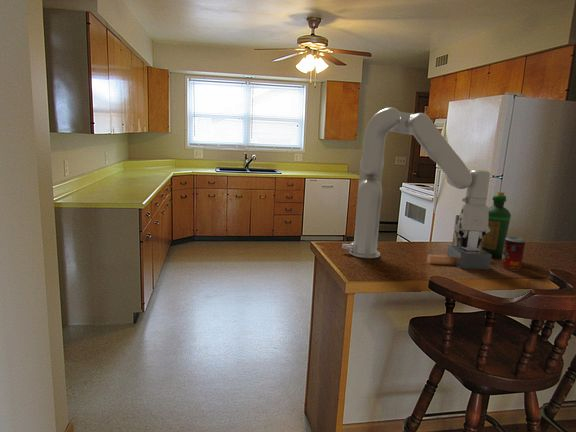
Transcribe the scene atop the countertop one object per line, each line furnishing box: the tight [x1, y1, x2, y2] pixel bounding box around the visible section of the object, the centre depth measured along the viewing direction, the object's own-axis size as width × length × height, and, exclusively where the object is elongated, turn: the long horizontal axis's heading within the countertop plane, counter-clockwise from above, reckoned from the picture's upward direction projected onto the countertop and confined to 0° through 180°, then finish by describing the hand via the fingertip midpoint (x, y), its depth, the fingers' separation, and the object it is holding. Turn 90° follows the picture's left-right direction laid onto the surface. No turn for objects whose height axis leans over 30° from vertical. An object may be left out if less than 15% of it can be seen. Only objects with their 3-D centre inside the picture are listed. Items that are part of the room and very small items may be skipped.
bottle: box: [480, 191, 512, 259], centre depth 181 cm, size 11×11×28 cm
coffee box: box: [451, 214, 462, 246], centre depth 186 cm, size 9×6×16 cm
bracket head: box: [426, 245, 493, 270], centre depth 167 cm, size 22×12×6 cm, turn 91°
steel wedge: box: [462, 231, 479, 252], centre depth 166 cm, size 4×4×10 cm
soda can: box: [500, 236, 526, 271], centre depth 164 cm, size 7×7×12 cm
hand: (469, 246), depth 166 cm, fingers open, 4 cm apart
